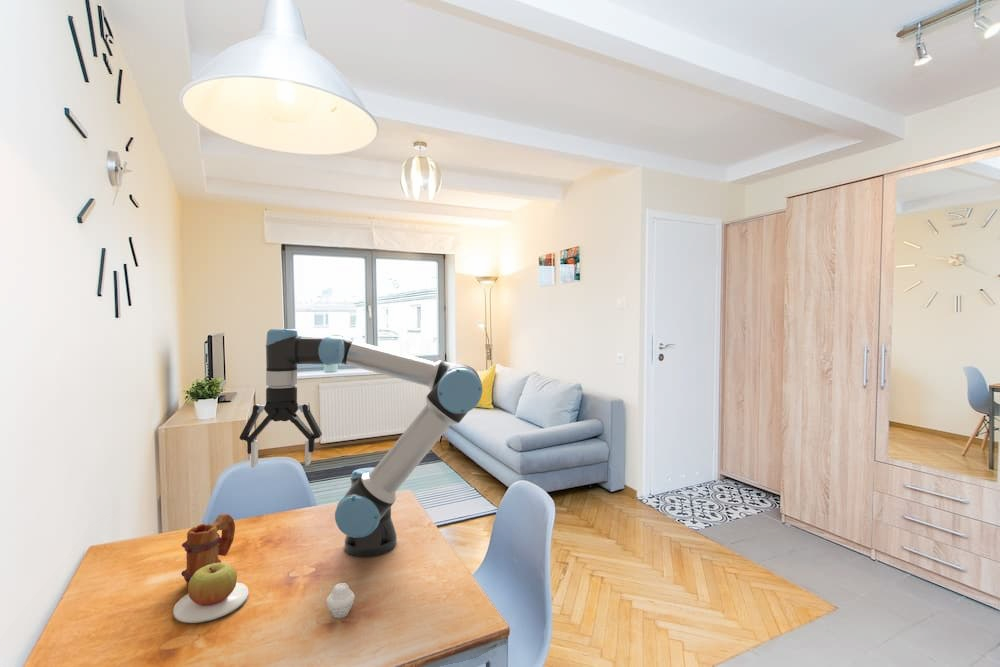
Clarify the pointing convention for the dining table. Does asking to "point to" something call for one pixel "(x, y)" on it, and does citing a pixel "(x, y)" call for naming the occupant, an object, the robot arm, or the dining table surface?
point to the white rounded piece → (340, 600)
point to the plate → (209, 607)
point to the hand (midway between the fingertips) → (281, 464)
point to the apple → (212, 583)
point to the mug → (208, 544)
